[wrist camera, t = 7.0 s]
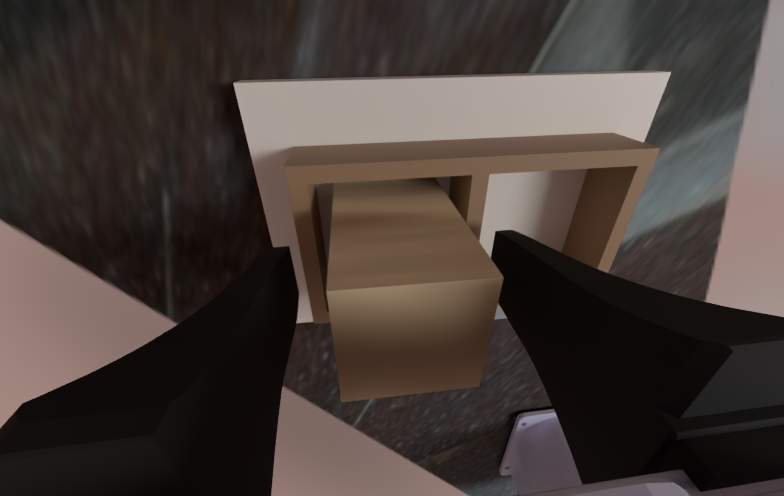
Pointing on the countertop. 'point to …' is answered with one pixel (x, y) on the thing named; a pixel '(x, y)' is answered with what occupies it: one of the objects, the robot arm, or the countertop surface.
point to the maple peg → (406, 290)
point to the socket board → (455, 156)
